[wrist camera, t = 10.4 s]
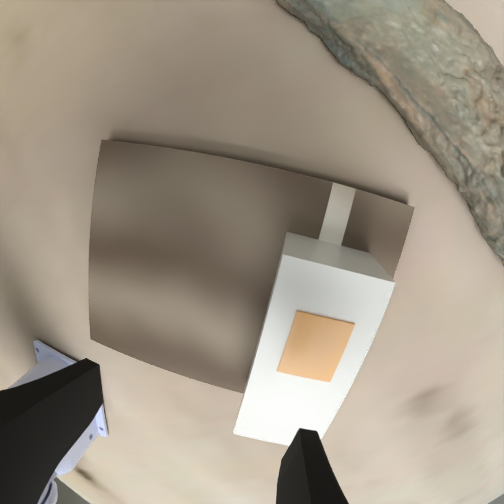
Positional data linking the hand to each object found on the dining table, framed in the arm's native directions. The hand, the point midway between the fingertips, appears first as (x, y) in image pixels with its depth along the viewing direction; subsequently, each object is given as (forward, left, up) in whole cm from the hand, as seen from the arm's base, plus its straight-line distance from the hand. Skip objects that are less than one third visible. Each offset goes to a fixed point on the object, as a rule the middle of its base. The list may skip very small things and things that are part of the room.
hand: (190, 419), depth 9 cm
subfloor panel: (+1, +1, -9) cm, 9 cm away
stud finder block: (0, -4, -8) cm, 9 cm away
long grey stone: (+15, -11, -10) cm, 21 cm away
